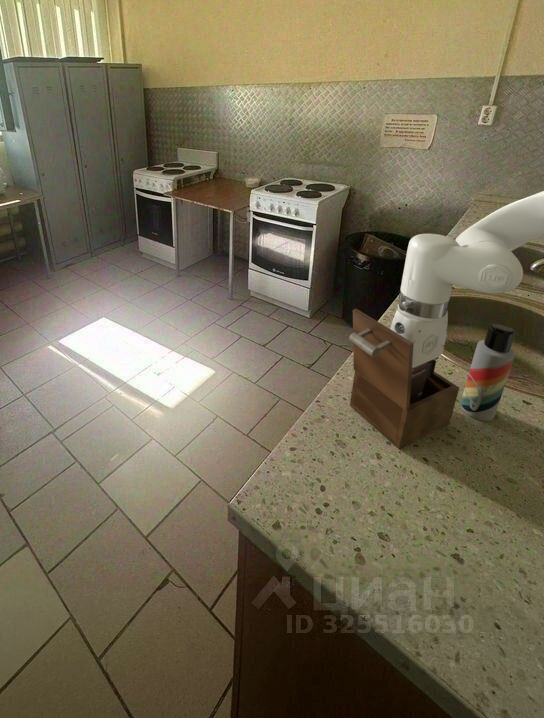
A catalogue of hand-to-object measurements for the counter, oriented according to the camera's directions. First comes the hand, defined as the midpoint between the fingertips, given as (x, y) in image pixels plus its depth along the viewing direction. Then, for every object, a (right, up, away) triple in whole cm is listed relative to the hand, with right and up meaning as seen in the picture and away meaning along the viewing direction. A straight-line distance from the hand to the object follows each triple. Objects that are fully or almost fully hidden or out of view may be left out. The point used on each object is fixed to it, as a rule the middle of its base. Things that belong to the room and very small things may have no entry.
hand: (406, 380), depth 76 cm
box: (0, -7, +3) cm, 8 cm away
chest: (0, -8, +3) cm, 8 cm away
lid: (-8, +6, -6) cm, 11 cm away
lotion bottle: (+16, -7, +3) cm, 18 cm away
